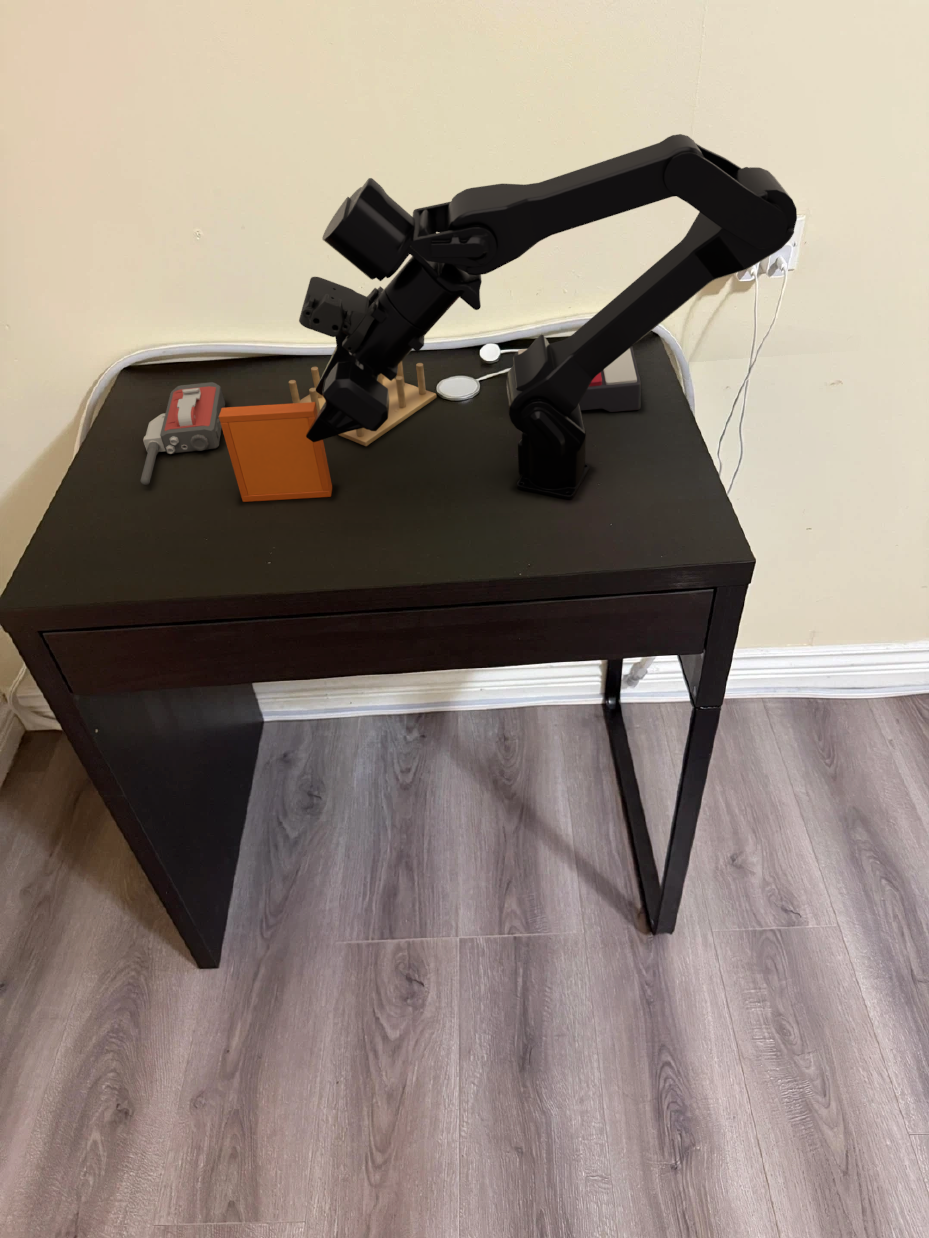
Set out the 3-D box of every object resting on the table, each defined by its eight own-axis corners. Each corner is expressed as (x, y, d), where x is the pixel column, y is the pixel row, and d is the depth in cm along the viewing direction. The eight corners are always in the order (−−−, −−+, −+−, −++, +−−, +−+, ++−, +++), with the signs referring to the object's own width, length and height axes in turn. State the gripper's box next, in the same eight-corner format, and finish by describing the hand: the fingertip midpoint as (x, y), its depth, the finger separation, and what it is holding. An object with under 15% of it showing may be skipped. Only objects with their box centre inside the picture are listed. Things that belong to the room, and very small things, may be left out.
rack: (436, 397, 115) (433, 364, 112) (366, 446, 108) (360, 413, 105) (357, 369, 122) (352, 337, 119) (285, 413, 115) (278, 381, 112)
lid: (332, 487, 102) (315, 401, 95) (331, 497, 101) (313, 410, 93) (245, 492, 103) (221, 407, 95) (242, 502, 101) (218, 416, 94)
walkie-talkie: (161, 405, 118) (138, 494, 104) (151, 374, 115) (126, 461, 101) (228, 397, 119) (215, 485, 104) (220, 367, 115) (205, 452, 101)
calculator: (513, 346, 116) (631, 335, 115) (516, 376, 119) (630, 366, 118) (515, 389, 108) (641, 378, 107) (518, 420, 111) (641, 410, 110)
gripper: (348, 215, 90) (262, 327, 98) (331, 296, 76) (233, 417, 84) (433, 287, 95) (345, 387, 103) (431, 375, 82) (330, 482, 90)
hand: (314, 415), depth 95 cm, fingers open, 9 cm apart
